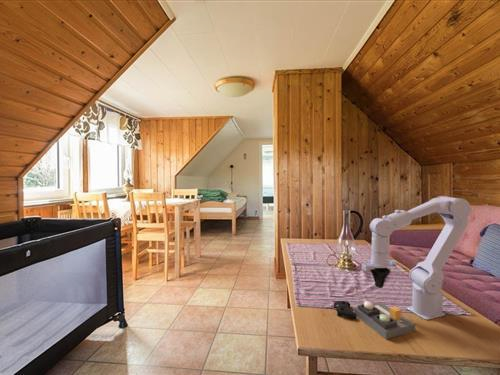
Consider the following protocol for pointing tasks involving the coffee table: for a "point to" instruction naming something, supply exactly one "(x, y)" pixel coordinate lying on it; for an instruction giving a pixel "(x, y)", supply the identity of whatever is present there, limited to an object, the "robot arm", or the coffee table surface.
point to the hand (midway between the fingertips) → (379, 286)
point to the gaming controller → (344, 309)
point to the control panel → (380, 327)
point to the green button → (384, 318)
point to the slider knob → (395, 313)
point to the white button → (368, 305)
